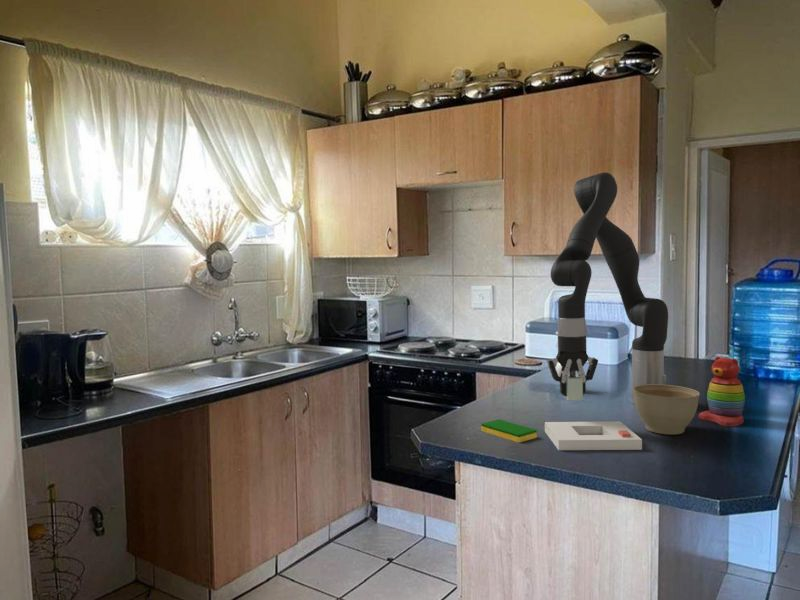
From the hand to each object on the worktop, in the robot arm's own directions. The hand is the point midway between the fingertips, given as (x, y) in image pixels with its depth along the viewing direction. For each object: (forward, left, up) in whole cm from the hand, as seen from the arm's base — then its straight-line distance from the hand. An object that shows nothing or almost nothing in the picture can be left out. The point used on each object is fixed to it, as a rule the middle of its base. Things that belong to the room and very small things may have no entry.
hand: (572, 395), depth 168 cm
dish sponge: (+19, +7, -9) cm, 22 cm away
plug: (0, 0, -1) cm, 1 cm away
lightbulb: (-8, -43, -9) cm, 45 cm away
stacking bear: (-43, -4, -9) cm, 44 cm away
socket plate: (-1, +13, -9) cm, 15 cm away
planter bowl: (-23, +5, -9) cm, 25 cm away
